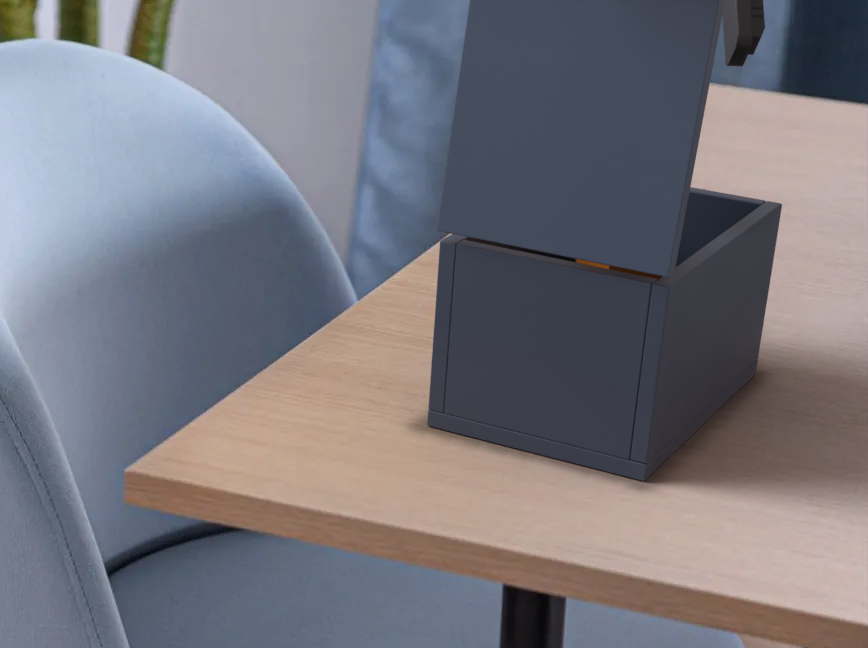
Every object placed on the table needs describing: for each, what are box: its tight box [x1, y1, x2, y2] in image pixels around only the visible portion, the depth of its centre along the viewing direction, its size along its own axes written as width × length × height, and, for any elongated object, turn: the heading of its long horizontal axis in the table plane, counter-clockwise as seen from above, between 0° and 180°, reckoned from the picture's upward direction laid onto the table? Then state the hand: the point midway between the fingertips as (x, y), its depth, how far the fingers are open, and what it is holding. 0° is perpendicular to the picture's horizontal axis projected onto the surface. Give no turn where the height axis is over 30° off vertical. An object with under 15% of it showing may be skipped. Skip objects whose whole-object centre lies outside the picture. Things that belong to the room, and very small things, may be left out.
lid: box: [436, 0, 725, 277], centre depth 70 cm, size 16×11×5 cm
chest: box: [426, 186, 783, 482], centre depth 83 cm, size 16×11×9 cm
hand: (645, 53), depth 79 cm, fingers open, 8 cm apart
